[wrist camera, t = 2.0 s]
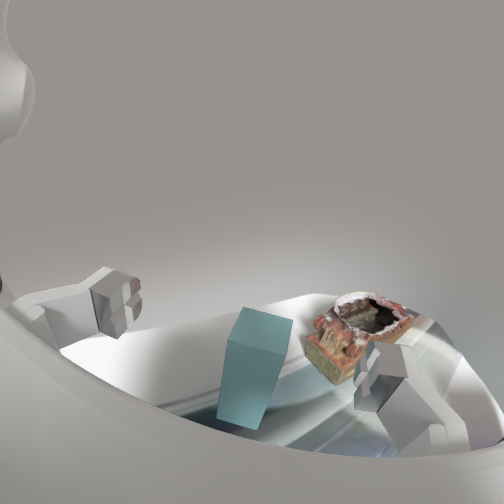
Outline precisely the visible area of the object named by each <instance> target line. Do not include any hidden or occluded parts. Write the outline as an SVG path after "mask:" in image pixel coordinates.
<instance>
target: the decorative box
mask: <svg viewBox="0 0 504 504" xmlns="http://www.w3.org/2000/svg"><path fill="white" fill-rule="evenodd" d="M335 301H336V302H335V307H332V308H331V309H330V310H329V311H328V313H327V314H322V315H319V316H318V317H317V318H315V319H316V320H314V321H313V327H315V328H316V329H317V330H319V331H318V332H317V333H316V334H315V333H314V334H312V335H309V336H307V337H306V357H307V358H308V359H309V360H310V361H311V362H312V363H313V364H314V365H315V366H316V367H317V368H318V370H319V372H320V373H321V374H324V375H325V376H326V377H327V378H328V379H329V380H330V381H331V382H333V384H335V385H336V386H337V385H339V384H341V383H342V382H344V381H346V380H347V379H349V378H351V377H352V376H354V372H355V368H356V365H357V363H358V361H359V359H360V358H361V357H363V356H365V355H366V352H365V348H366V346H367V344H368V343H369V342H370V341H371V340H374V341H379V342H385V343H391V344H394V343H395V342H396V341H397V340H398V339H399V338H400V337H401V336H402V335H403V334H404V333H405V332H406V331H407V330H408V329H409V328H411V326H412V323H413V321H414V318H415V317H414V316H413V315H411V314H409V313H408V312H407V311H406V310H405V309H404V308H403V307H402V306H401V305H400V304H397V303H394V302H392V301H390V300H389V299H388V298H385V297H381V296H378V295H377V294H373V293H369V292H364V291H356V292H352V293H350V294H347V295H343V296H341V297H339V298H338V299H336V300H335Z"/></svg>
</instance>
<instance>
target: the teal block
mask: <svg viewBox="0 0 504 504" xmlns="http://www.w3.org/2000/svg"><path fill="white" fill-rule="evenodd" d="M292 324H293V320H291V319H287V318H283V317H279V316H276V315H272V314H268V313H264V312H261V311H257V310H253V309H250V308H246V307H243V309H242V311H241V313H240V315H239V317H238V319H237V321H236V323H235V325H234V328H233V330H232V332H231V334H230V336H229V338H228V341H227V348H226V355H225V362H224V368H223V375H222V382H221V389H220V396H219V403H218V410H217V417H216V418H217V419H220V420H223V421H226V422H229V423H233V424H236V425H240V426H243V427H247V428H250V429H254V430H257V429H258V426H259V424H260V421H261V419H262V417H263V414H264V412H265V409H266V407H267V404H268V402H269V399H270V397H271V394H272V392H273V389H274V386H275V384H276V381H277V379H278V376H279V373H280V371H281V368H282V365H283V362H284V360H285V357H286V353H287V348H288V344H289V339H290V334H291V329H292Z"/></svg>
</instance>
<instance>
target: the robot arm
mask: <svg viewBox="0 0 504 504" xmlns="http://www.w3.org/2000/svg"><path fill="white" fill-rule="evenodd" d="M9 2H10V0H0V145H2V144H4V143H6V142H8V141H10V140H13V139H15V138H16V137H17V136H18V135H19V134H20V132H21V131H22V130H23V128H24V126H25V125H26V123H27V121H28V119H29V116H30V114H31V111H32V108H33V105H34V99H35V84H34V79H33V76H32V73H31V71H30V70H29V68H28V67H27V65H26V64H25V63H23V62H22V61H21V60H20V59H19V58H18V56H17V55H16V54H15V52H14V51H13V49H12V47H11V45H10V43H9V40H8V36H7V30H6V17H7V10H8V6H9ZM140 288H141V286H140V280H139V279H138V278H136V277H134V276H131V275H128V274H126V273H123V272H121V271H118V270H115V269H112V268H110V267H103V268H101V269H100V270H98V271H97V272H95V273H94V274H92V275H91V276H90V277H88V278H87V279H85V280H84V281H83V282H81V283H80V284H78V285H77V284H70V285H66V286H61V287H56V288H52V289H47V290H42V291H37V292H33V293H28V294H24V295H23V296H21V297H20V298H19V299H17V300H16V298H15V296H14V293H13V291H12V289H11V287H8V286H7V285H5V284H3V283H2V280H1V276H0V504H504V444H500V445H496V446H492V447H488V448H483V449H478V450H472V451H471V446H470V441H469V437H468V433H467V429H466V425H465V422H464V421H463V420H462V419H461V417H460V416H459V415H458V414H457V413H456V412H455V411H454V410H453V409H452V408H451V407H450V406H449V405H448V404H447V402H446V401H445V400H444V399H443V398H442V397H441V396H440V395H439V394H438V393H437V392H436V391H435V390H434V389H433V388H432V387H431V386H430V385H429V384H428V383H427V382H426V381H425V380H421V376H420V372H419V369H418V365H417V362H416V359H415V355H414V352H413V349H412V347H411V346H408V345H400V344H391V343H385V342H379V341H374V340H371V341H370V342H369V343H368V344H367V346H366V348H365V352H366V355H365V356H363V357H361V358H360V359H359V361H358V363H357V365H356V368H355V372H354V378H353V380H354V385H355V387H356V388H357V390H356V392H355V393H354V410H361V411H368V412H376V413H377V415H378V417H379V419H380V420H381V422H382V424H383V426H384V427H385V429H386V431H387V432H388V434H389V436H390V437H391V439H392V441H393V443H394V444H395V446H396V448H397V449H398V451H399V453H398V454H397V455H396V456H394V457H393V458H381V457H357V456H344V455H333V454H325V453H317V452H310V451H303V450H297V449H292V448H286V447H281V446H276V445H272V444H267V443H263V442H259V441H255V440H251V439H247V438H243V437H239V436H236V435H232V434H229V433H226V432H222V431H219V430H216V429H213V428H210V427H207V426H204V425H201V424H198V423H195V422H193V421H190V420H187V419H185V418H182V417H179V416H177V415H174V414H172V413H169V412H167V411H165V410H162V409H160V408H158V407H155V406H153V405H151V404H149V403H146V402H144V401H142V400H140V399H138V398H136V397H134V396H132V395H130V394H128V393H126V392H124V391H122V390H120V389H118V388H116V387H114V386H112V385H111V384H109V383H107V382H105V381H103V380H102V379H100V378H98V377H96V376H95V375H93V374H91V373H90V372H88V371H86V370H85V369H83V368H81V367H80V366H78V365H77V364H75V363H73V362H72V361H70V360H69V359H67V358H66V357H64V356H63V355H61V353H60V350H59V349H61V348H63V347H66V346H68V345H71V344H73V343H75V342H78V341H80V340H83V339H85V338H87V337H90V336H92V335H94V334H97V333H99V331H100V332H102V333H104V334H106V335H108V336H110V337H113V338H115V339H118V338H119V337H120V336H121V335H122V334H123V333H124V332H125V331H126V330H127V324H129V323H132V322H134V321H135V320H136V319H137V318H138V316H139V314H140V312H141V308H142V299H141V297H140V295H139V294H138V291H139V290H140Z"/></svg>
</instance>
